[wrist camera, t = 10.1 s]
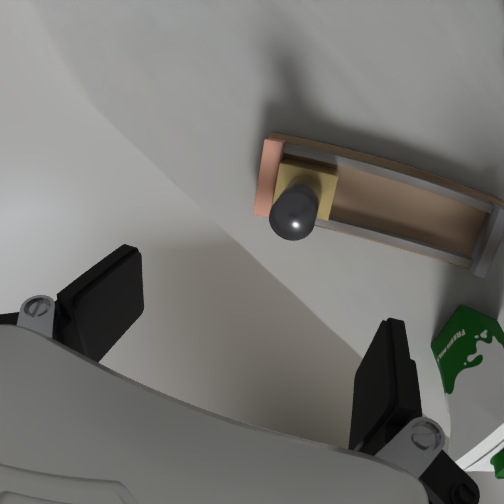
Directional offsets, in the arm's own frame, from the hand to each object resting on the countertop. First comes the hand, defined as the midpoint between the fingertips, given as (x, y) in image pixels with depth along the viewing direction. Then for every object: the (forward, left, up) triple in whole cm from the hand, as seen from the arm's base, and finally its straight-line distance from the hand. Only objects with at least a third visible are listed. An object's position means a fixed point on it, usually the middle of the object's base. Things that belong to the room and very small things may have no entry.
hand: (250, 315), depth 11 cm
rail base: (0, +8, -22) cm, 24 cm away
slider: (0, 0, -20) cm, 20 cm away
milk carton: (+13, +24, -22) cm, 35 cm away
